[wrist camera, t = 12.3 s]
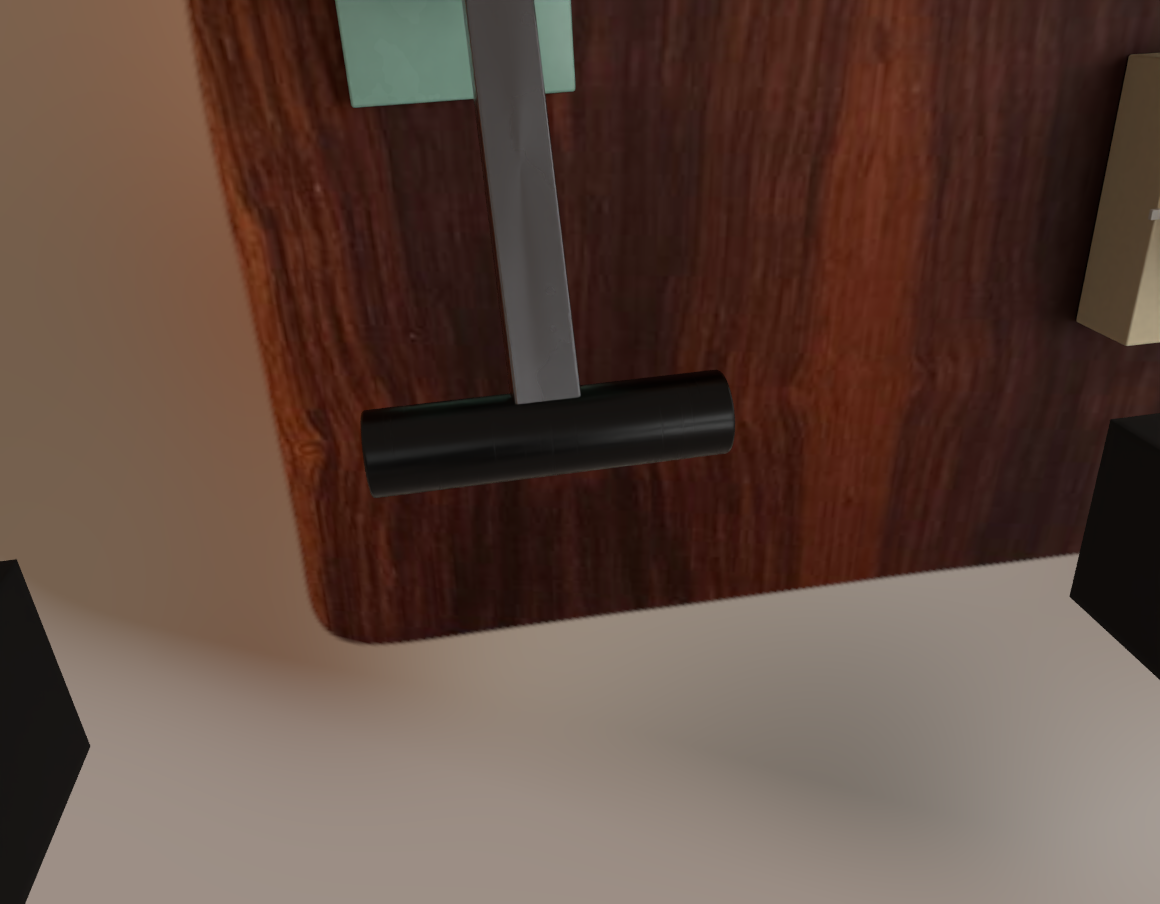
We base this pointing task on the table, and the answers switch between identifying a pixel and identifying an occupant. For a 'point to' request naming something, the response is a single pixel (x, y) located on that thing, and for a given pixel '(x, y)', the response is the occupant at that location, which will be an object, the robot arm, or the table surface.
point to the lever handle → (534, 321)
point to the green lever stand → (433, 50)
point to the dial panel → (1129, 218)
